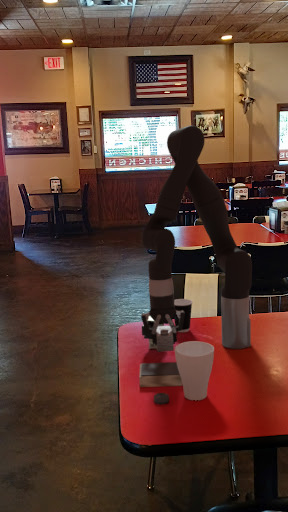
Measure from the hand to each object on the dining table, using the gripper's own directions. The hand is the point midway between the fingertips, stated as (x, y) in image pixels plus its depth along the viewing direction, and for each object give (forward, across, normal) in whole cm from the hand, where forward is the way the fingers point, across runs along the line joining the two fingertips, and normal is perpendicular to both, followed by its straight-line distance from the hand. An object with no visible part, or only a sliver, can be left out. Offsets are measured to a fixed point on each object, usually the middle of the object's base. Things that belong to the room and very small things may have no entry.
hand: (164, 343), depth 153 cm
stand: (+6, +2, +13) cm, 14 cm away
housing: (+1, 0, 0) cm, 1 cm away
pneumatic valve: (+6, +4, -12) cm, 14 cm away
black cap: (+6, +2, +26) cm, 26 cm away
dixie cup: (+6, -8, -28) cm, 30 cm away
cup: (+6, -7, +23) cm, 25 cm away
